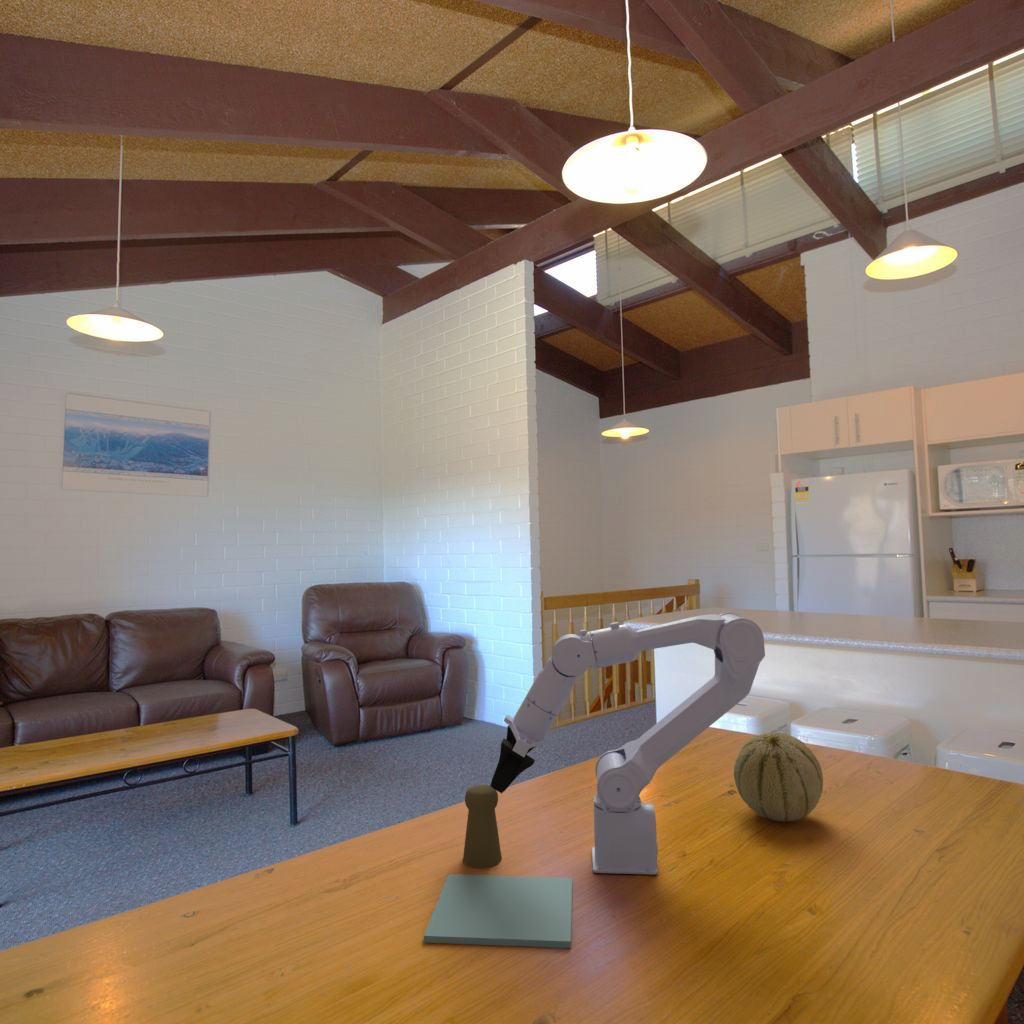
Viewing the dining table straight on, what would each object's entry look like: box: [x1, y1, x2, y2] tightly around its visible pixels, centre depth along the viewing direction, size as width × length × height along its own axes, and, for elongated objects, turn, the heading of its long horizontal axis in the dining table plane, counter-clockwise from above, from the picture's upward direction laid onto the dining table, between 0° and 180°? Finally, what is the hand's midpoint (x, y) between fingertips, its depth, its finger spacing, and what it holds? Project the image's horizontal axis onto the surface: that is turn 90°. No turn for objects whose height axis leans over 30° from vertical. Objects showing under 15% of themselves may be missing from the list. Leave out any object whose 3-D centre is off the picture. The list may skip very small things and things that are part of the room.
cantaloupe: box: [733, 732, 824, 823], centre depth 122 cm, size 15×15×15 cm
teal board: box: [423, 873, 573, 949], centre depth 92 cm, size 18×16×1 cm
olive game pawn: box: [462, 784, 503, 869], centre depth 107 cm, size 6×6×11 cm
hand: (499, 780), depth 108 cm, fingers open, 7 cm apart
